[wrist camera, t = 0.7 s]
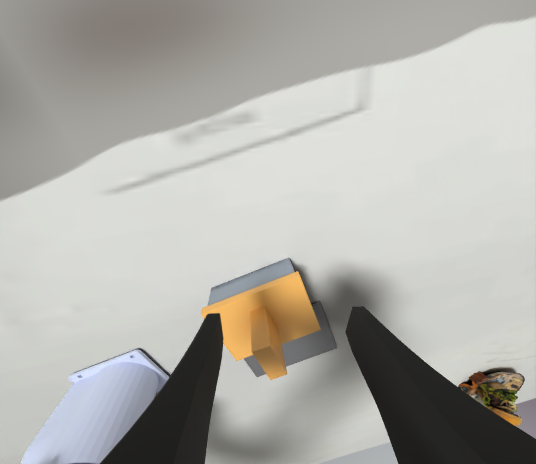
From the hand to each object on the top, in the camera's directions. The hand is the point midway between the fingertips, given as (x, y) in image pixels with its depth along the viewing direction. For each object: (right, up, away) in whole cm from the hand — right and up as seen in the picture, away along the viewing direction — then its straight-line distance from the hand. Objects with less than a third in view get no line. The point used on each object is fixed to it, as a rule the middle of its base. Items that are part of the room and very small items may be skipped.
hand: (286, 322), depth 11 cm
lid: (-1, -3, +10) cm, 11 cm away
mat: (+1, -9, +15) cm, 18 cm away
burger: (+40, -24, +27) cm, 54 cm away
